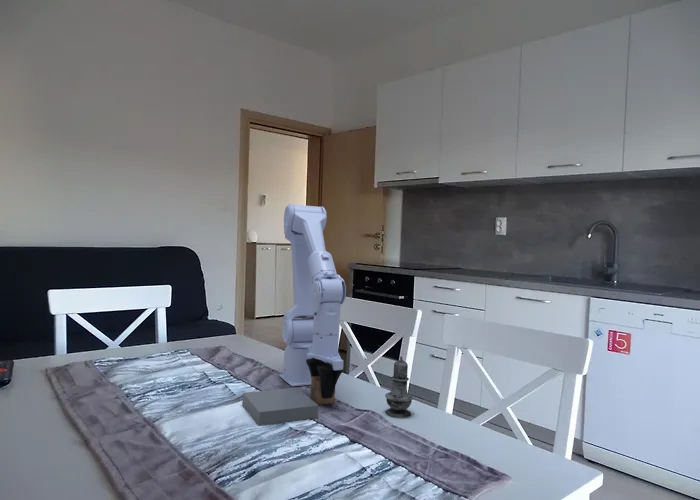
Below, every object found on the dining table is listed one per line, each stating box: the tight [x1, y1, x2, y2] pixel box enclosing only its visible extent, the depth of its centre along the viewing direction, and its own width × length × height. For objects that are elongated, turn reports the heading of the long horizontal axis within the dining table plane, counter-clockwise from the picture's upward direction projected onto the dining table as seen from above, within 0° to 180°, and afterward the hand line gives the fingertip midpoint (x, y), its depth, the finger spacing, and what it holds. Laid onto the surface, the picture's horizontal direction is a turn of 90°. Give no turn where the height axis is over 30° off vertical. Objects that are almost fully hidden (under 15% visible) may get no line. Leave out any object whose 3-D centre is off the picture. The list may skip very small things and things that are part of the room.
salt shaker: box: [384, 356, 414, 419], centre depth 101 cm, size 6×6×12 cm
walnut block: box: [309, 376, 336, 406], centre depth 106 cm, size 4×4×5 cm
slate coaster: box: [241, 387, 319, 426], centre depth 99 cm, size 12×12×2 cm
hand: (322, 394), depth 106 cm, fingers closed on walnut block, 4 cm apart
